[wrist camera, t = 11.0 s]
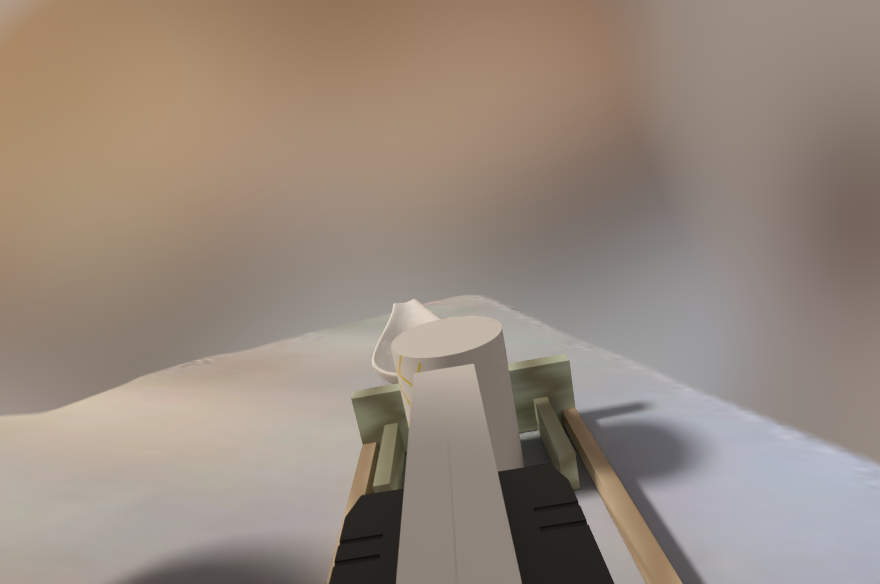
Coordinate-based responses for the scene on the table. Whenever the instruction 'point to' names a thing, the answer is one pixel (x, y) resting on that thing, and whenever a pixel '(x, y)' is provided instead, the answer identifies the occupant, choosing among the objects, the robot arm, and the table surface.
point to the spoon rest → (398, 323)
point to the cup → (463, 346)
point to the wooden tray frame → (537, 408)
